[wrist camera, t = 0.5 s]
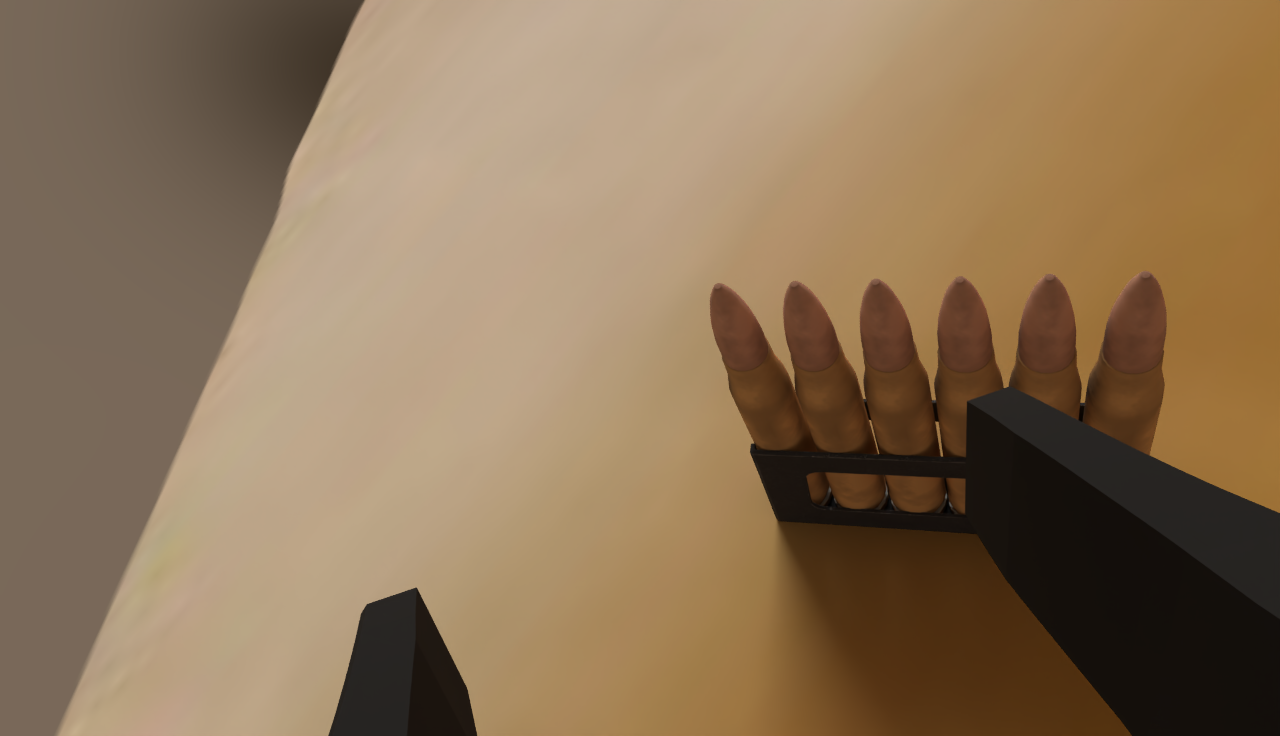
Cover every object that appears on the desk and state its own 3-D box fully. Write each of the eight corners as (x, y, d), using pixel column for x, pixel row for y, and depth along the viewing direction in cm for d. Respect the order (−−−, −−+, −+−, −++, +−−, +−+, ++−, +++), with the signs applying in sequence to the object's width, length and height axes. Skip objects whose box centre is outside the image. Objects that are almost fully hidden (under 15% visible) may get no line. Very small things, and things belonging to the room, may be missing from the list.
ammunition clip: (1136, 485, 29) (1196, 234, 19) (1140, 544, 28) (1205, 312, 18) (782, 469, 33) (685, 254, 23) (776, 520, 32) (671, 320, 22)
